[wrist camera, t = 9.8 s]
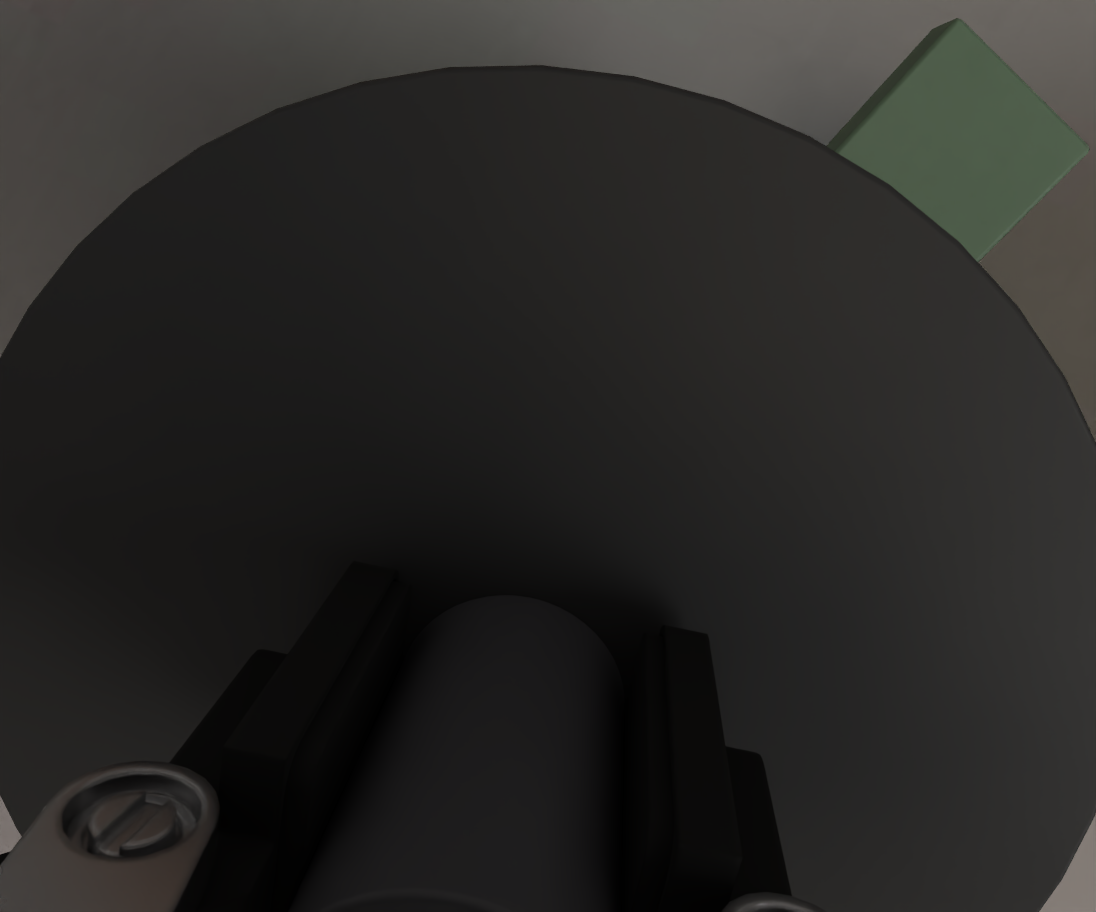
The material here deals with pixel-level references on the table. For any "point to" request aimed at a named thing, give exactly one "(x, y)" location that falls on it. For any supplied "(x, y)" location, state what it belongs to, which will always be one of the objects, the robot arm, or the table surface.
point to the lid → (560, 490)
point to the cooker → (961, 138)
